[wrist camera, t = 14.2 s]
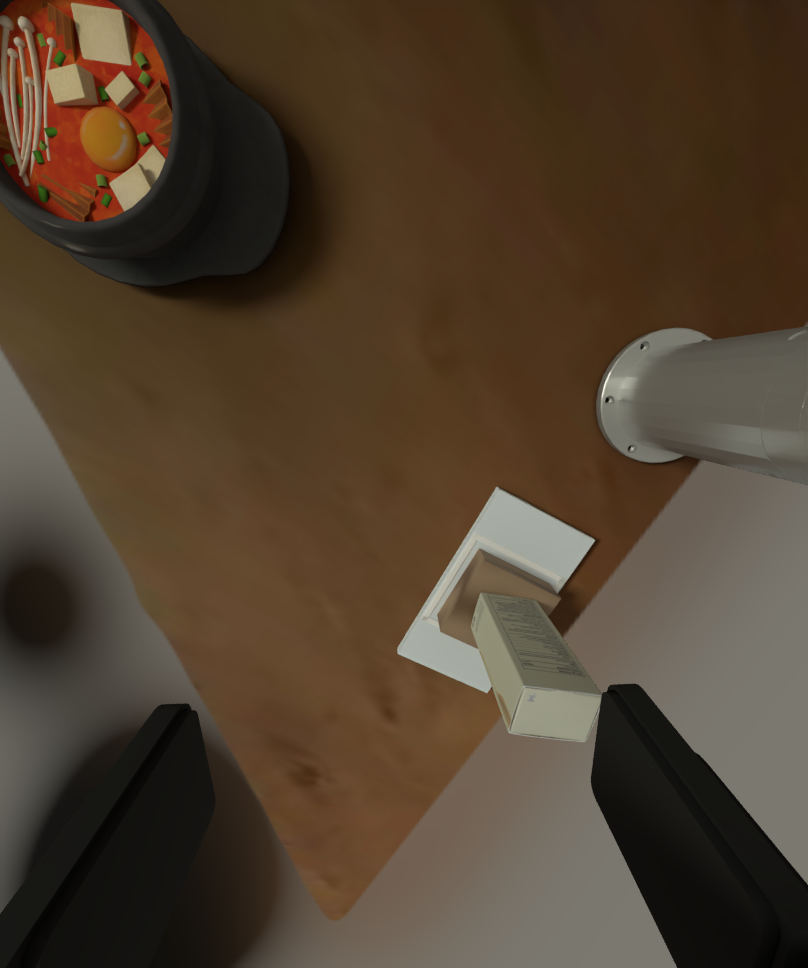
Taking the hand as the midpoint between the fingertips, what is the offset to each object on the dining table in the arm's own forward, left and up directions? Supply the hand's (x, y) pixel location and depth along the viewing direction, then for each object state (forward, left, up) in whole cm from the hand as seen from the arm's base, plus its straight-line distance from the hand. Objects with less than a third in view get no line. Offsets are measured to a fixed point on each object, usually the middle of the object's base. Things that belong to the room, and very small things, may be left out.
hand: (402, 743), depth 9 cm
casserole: (+20, -26, -31) cm, 45 cm away
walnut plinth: (-10, +15, -29) cm, 34 cm away
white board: (-10, +15, -30) cm, 35 cm away
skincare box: (-11, +15, -26) cm, 32 cm away
